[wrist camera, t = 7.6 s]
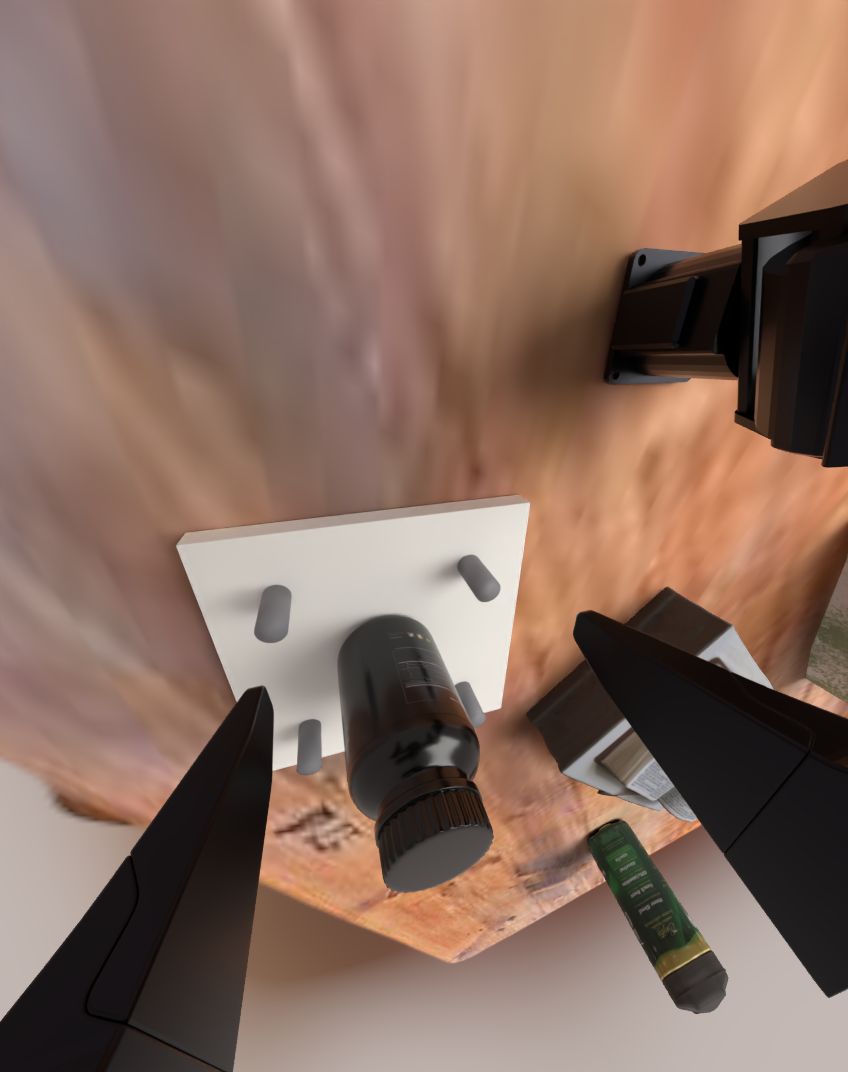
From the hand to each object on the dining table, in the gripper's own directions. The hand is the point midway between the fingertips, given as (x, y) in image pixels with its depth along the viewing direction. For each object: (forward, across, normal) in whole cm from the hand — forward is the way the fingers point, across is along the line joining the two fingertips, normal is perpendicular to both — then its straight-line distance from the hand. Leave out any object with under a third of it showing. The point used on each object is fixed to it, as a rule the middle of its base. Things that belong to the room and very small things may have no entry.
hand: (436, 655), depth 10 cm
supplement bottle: (+11, 0, +11) cm, 16 cm away
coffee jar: (+13, -33, +66) cm, 75 cm away
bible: (+14, -28, +28) cm, 42 cm away
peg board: (+13, +1, +11) cm, 17 cm away
